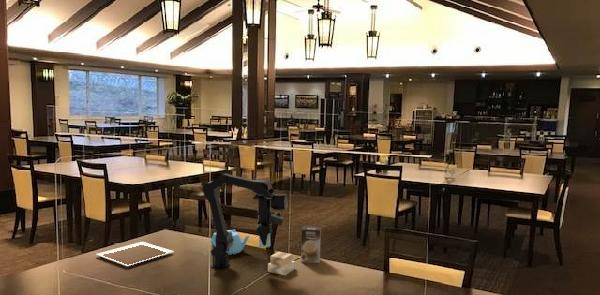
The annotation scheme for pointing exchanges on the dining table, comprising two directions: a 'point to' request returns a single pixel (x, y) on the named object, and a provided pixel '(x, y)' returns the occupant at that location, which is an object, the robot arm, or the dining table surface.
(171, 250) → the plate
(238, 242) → the teapot
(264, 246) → the teal cylinder
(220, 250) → the robot arm
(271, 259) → the oak top block
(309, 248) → the coffee box
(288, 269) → the birch base block
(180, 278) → the dining table surface
